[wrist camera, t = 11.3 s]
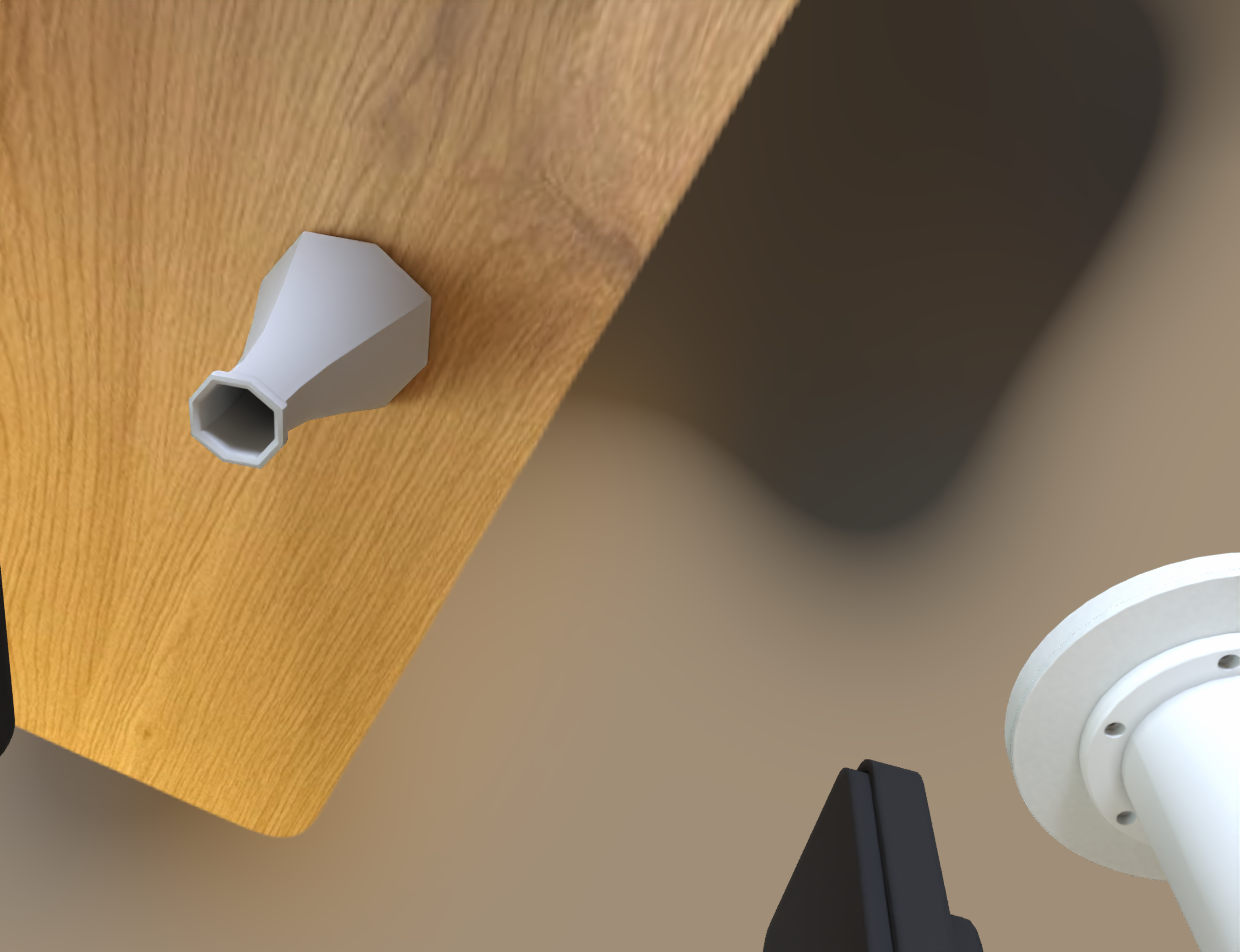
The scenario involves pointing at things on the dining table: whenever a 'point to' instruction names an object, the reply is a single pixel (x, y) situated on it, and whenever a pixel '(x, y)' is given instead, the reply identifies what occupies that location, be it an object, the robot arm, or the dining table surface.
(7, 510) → the dining table surface
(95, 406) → the dining table surface
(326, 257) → the flask
